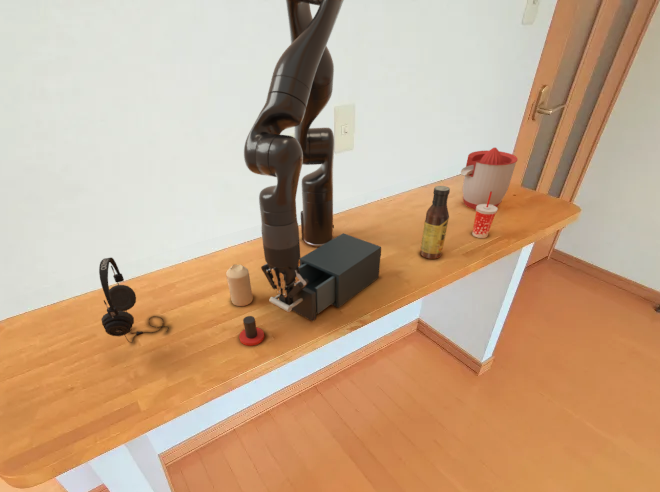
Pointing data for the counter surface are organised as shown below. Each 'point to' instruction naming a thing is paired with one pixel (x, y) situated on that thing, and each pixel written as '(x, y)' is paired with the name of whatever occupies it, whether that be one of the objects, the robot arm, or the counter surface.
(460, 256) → the counter surface
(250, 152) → the robot arm
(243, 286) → the candle
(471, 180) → the citrus juicer
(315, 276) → the drawer
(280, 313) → the counter surface
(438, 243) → the sauce bottle
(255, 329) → the lid
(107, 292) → the headphones
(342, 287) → the cabinet
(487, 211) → the beverage cup
